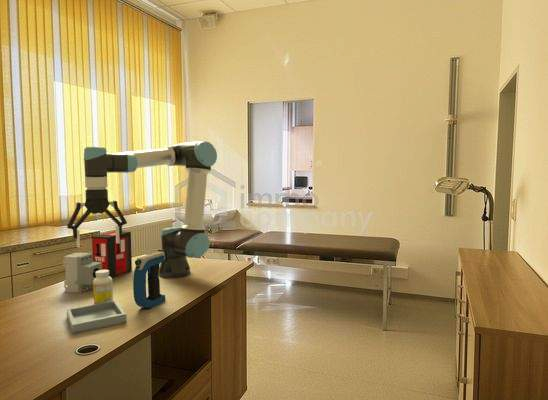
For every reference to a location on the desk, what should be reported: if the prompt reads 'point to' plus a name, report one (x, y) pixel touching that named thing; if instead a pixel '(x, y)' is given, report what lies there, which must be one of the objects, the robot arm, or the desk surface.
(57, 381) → the desk surface
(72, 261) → the circuit breaker
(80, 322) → the tray
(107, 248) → the cleaning product box
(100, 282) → the supplement bottle
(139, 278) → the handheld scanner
